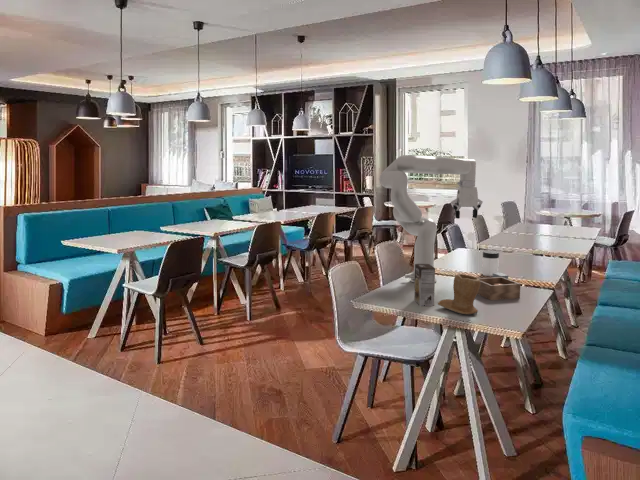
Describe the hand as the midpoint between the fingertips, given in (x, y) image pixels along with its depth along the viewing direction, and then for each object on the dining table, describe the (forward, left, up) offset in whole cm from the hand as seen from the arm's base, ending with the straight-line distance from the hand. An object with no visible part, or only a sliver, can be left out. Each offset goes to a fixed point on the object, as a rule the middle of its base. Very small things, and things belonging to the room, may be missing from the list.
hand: (466, 218), depth 274 cm
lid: (+7, -22, -31) cm, 39 cm away
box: (-7, -41, -30) cm, 51 cm away
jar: (+15, 0, -31) cm, 34 cm away
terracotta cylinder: (-4, -38, -30) cm, 48 cm away
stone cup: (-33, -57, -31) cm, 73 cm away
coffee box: (-42, -42, -31) cm, 67 cm away
